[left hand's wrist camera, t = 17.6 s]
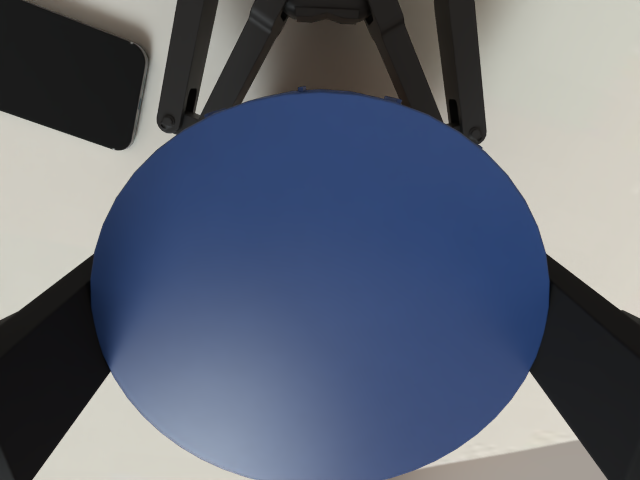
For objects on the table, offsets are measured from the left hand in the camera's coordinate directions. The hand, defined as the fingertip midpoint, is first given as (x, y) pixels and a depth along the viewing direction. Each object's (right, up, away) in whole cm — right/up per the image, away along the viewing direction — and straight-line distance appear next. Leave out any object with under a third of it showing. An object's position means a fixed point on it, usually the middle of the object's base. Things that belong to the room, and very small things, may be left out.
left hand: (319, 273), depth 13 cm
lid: (0, -1, -3) cm, 3 cm away
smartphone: (-19, +13, +13) cm, 27 cm away
